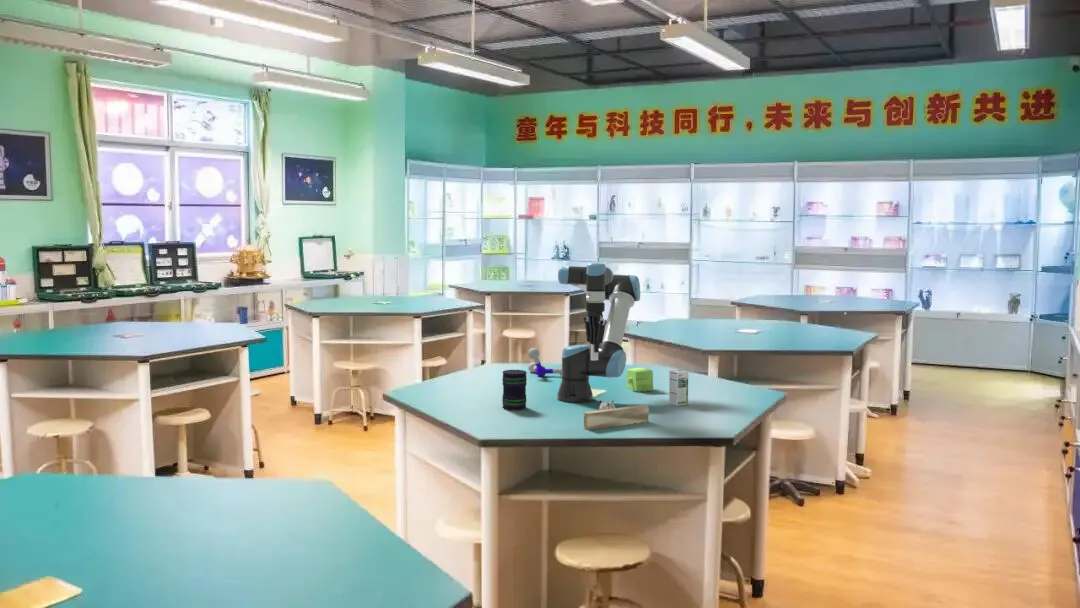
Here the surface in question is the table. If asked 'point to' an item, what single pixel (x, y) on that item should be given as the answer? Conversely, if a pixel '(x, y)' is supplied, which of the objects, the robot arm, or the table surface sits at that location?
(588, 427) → the birch board
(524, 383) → the storage jar
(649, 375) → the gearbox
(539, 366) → the molecular model
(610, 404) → the game die
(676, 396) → the syrup box
